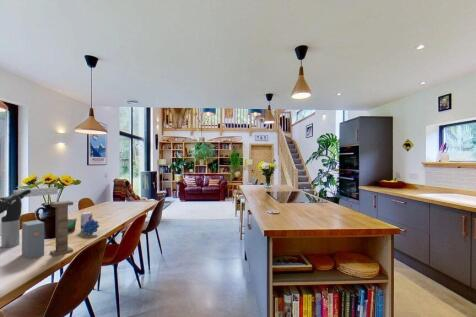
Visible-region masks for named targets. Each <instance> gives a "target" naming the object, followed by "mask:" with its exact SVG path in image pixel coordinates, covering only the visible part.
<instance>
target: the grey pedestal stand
mask: <svg viewBox="0 0 476 317" xmlns="http://www.w3.org/2000/svg"><path fill="white" fill-rule="evenodd" d="M49 206H50V207H52V208H55V249H53V250H50V251H49V254H50V255H52V256H53V257H58V256H60V255H61V254H62V255H66V254H69V253H73V252H74V249H73V248H72V247H70V246H69V245H68V242H69V241H68V240H69V234H68V233H69V232H68V219H69V215H68V214H69V213H68V212H69V208H68V207H69V206H74V201H71V200H61V201H55V202H54V201H53V202H49Z"/></svg>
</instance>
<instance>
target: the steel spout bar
mask: <svg viewBox="0 0 476 317" xmlns="http://www.w3.org/2000/svg"><path fill="white" fill-rule="evenodd" d="M28 189H29V190H30V191H31V193H29V194H27V195H25V196H24V198H29V197H39V196H49V195H58V186H57V187H56V186H53V187H52V186H50V187H39V188H28ZM28 189H27V188H23V189H15V190H14V189H13V191H12V194H13V195H18V194H20V193H22V192H24V191H26V190H28ZM18 198H20V196H19V197H18Z"/></svg>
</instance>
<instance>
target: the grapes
mask: <svg viewBox="0 0 476 317" xmlns="http://www.w3.org/2000/svg"><path fill="white" fill-rule="evenodd" d="M98 223H99V221H98V220H95V219H92V220H91V221H87V222H86V224H85V225H83V228H84V229H83V230H82V232H81V233H84V235H85V236H87V235H90V236H91V235H94V233H97V232H98V228H100V224H98Z"/></svg>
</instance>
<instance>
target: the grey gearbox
mask: <svg viewBox="0 0 476 317" xmlns="http://www.w3.org/2000/svg"><path fill="white" fill-rule="evenodd" d="M21 255H22V256H23V257H25V258H26V259H28V260H30V259H33V258H39V257H41V256H44V255H45V222H44V221H41V220H39V219H35V220H30V221H23V222H21Z"/></svg>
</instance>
